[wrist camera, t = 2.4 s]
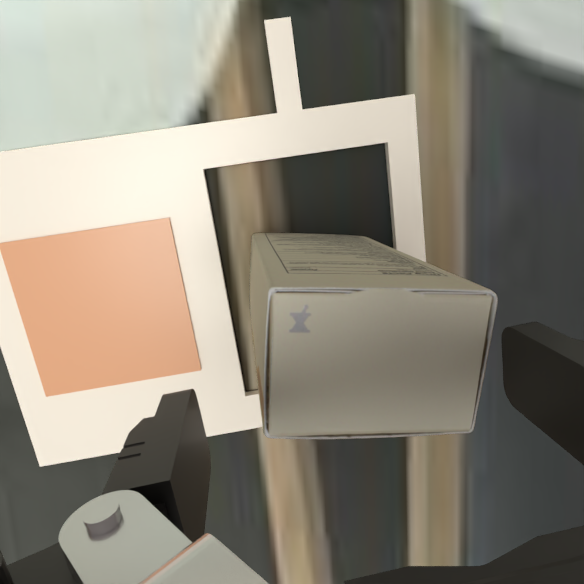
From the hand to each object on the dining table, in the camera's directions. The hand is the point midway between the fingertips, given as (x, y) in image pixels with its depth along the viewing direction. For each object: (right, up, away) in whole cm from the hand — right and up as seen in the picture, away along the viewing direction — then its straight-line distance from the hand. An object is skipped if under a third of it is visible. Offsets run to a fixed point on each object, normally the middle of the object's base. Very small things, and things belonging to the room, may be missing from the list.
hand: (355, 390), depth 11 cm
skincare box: (-1, +4, +12) cm, 13 cm away
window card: (-6, +5, +11) cm, 13 cm away
